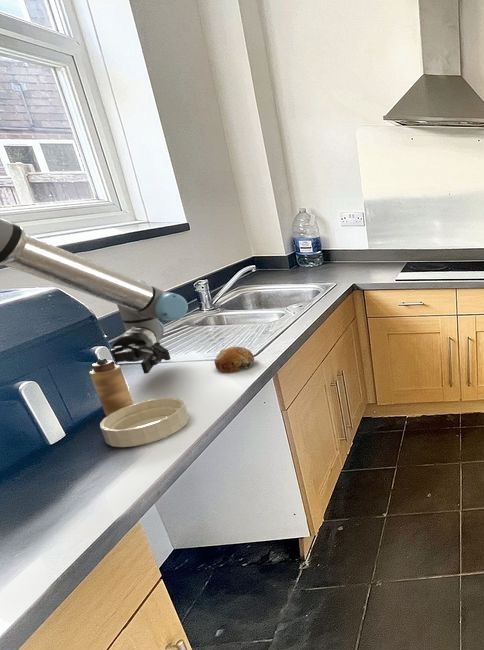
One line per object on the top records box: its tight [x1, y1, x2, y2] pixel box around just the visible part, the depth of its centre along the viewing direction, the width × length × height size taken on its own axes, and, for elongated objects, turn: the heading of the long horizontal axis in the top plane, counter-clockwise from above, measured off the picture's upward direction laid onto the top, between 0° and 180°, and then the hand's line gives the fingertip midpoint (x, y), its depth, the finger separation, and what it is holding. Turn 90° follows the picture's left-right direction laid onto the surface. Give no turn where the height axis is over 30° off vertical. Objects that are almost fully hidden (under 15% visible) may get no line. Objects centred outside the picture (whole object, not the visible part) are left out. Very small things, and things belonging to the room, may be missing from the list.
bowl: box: [99, 397, 190, 448], centre depth 92 cm, size 14×14×4 cm
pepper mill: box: [88, 359, 134, 417], centre depth 97 cm, size 5×5×14 cm
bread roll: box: [213, 345, 255, 374], centre depth 125 cm, size 10×10×8 cm
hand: (107, 373), depth 96 cm, fingers open, 13 cm apart
